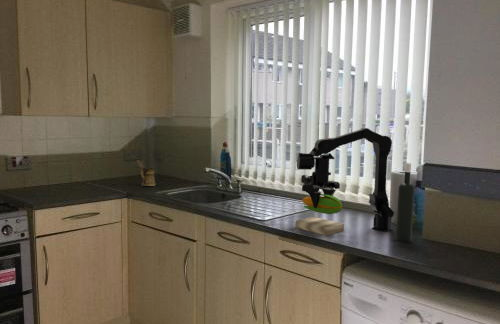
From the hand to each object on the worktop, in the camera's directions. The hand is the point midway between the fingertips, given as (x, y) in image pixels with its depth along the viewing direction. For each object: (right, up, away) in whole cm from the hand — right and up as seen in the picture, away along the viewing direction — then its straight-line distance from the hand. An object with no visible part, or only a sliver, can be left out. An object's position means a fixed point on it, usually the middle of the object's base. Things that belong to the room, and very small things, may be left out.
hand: (320, 206), depth 183 cm
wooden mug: (-97, +3, +102) cm, 140 cm away
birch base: (0, -9, +1) cm, 9 cm away
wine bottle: (+30, -12, -13) cm, 35 cm away
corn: (0, -2, 0) cm, 2 cm away
